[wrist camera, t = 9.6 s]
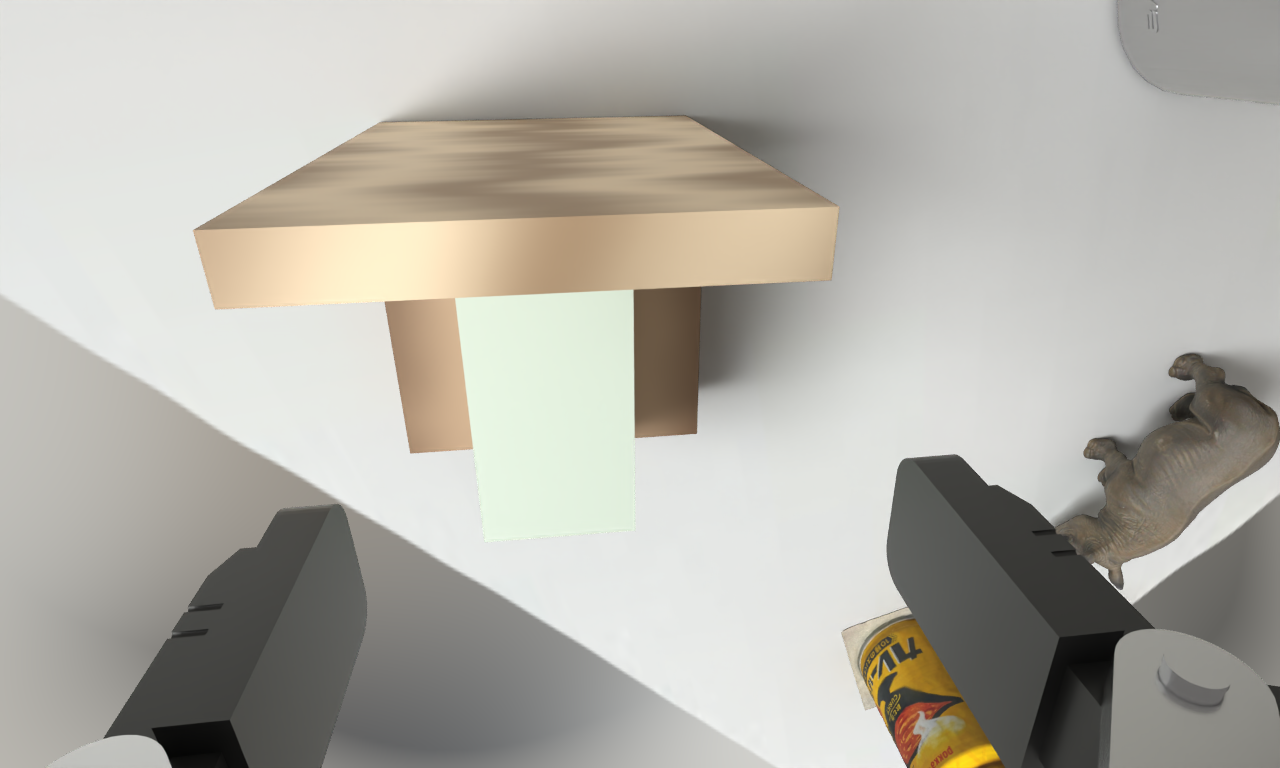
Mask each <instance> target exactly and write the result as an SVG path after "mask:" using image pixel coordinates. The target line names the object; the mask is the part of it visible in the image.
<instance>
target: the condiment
mask: <svg viewBox="0 0 1280 768" xmlns="http://www.w3.org/2000/svg"><path fill="white" fill-rule="evenodd" d="M841 633H842V637H843V640H844V643H845V647H846V650H847V653H848V657H849V660H850V663H851V667H852V670H853V673H854V676H855V679H856V683H857V686H858V689H859V693H860V695H861V698H862V702H863V705H864V708H865V710H868V709H871V708H874V707H876V706H877V708H878V710H879V712H880V714H881V716H882V718H883V720H884V722H885V724H886V727H887V728H888V731H889V733H890V734H891V736H892V738H893V741H894V742H895V744H896V746H897V748H898V750H899V752H900V754H901V756H902V759H903V761H904V763H905V765H906V766H907V768H1005V766H1004V765H1003V763H1002V761H1001V760H1000V758H999V756H998V755H997V753H996V751H995V750H994V748H993V746H992V745H991V743H990V741H989V740H988V738H987V736H986V735H985V733H984V732H983V730H982V728H981V727H980V725H979V723H978V722H977V720H976V718H975V717H974V715H973V713H972V712H971V710H970V708H969V707H968V705H967V703H966V702H965V700H964V699H963V697H962V695H961V694H960V692H959V690H958V689H957V687H956V685H955V684H954V682H953V680H952V679H951V677H950V675H949V674H948V672H947V670H946V669H945V667H944V665H943V664H942V662H941V661H940V659H939V657H938V656H937V654H936V652H935V651H934V649H933V647H932V646H931V644H930V642H929V641H928V639H927V637H926V636H925V634H924V632H923V631H922V629H921V628H920V626H919V624H918V623H917V621H916V619H915V618H914V616H913V614H912V613H911V611H910V609H909V608H908V607H907V608H904V609H901V610H898V611H895V612H893V613H890V614H887V615H884V616H881V617H879V618H875V619H872V620H869V621H867V622H865V623H863V624H858V625H856V626H853V627H851V628H848V629H846V630H844V631H843V632H841Z"/></svg>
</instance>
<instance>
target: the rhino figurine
mask: <svg viewBox="0 0 1280 768" xmlns="http://www.w3.org/2000/svg"><path fill="white" fill-rule="evenodd" d="M1169 376H1171V377H1176V378H1178V379H1180V380H1184V381H1187V380H1192V379H1194V380H1195V382H1196V393H1189V394H1187V395H1184V396H1183V397H1182V398H1180V399H1179V400H1178V401H1177V402H1176V403H1175V404H1174V405H1173V406H1172V407H1171V408H1170V410H1169V411H1170V413H1171V414H1172V419H1173V420H1175V421H1182V422H1176V423H1172V424H1168V425H1166V426H1163V427H1161V428H1159V429H1157V430H1155V431H1153V432H1152V433H1150V434H1149V435H1148V436H1147V437H1146V438H1145V439H1144V441H1143V442H1142V444H1141V446H1140V448H1139V450H1138V453H1137V455H1136V457H1134V458H1133V459H1132V460H1128V459H1127V457H1126V455H1125V454H1123V453H1121V452H1120V451H1118V450H1117V447H1116V443H1115V442H1114V441H1113V440H1109V439H1092V440H1090V441H1089V442H1088V445H1087V448H1086V449H1085V450H1084V456H1085V458H1088V459H1095V460H1102V461H1104V462H1105V464H1106V467H1105V468H1104V469H1103V470H1102V471H1101V472H1100V473H1099V475H1098V481H1099V482H1102V485H1103V486H1105V487H1104V490H1105V495H1106V506H1105V507H1104V508H1103V509H1101V510H1100V512H1099V514H1098V518H1094V517H1091V516H1088V515H1078V516H1076V517H1074V518H1072V519H1071V520H1069V521H1067V522H1065V523H1063V524H1061V525H1059V526H1057V527H1055V529H1056V533H1057V534H1061V535H1062V536H1063V537H1064V538H1065V539H1066V540H1067V541H1068V542H1069V543H1070V544H1071V545H1072V546H1073V547H1074V548H1075V549H1076V553H1077V555H1082V556H1083V557H1084V558H1085V559H1086V560H1087V561H1088V562H1089V563H1090V564H1093V563H1094V562H1096V563H1097V564H1099V565H1101V566H1103V567H1105V568H1107V569H1108V570H1109V573H1108V576H1109V579H1110V581H1111V583H1112V584H1114V585H1115V586H1116V588H1118V589H1119V590H1122V589H1123V585H1124V583H1123V575H1122V571H1121V566H1122V564H1123V563H1124V562H1128V561H1130V560H1131V559H1134V558H1138V557H1141V556H1144V555H1147V554H1149V553H1152V552H1154V551H1156V550H1159V549H1161V548H1163V547H1165V546H1166V545H1168V544H1170V543H1171V542H1173V541H1174V540H1175V539H1177V538H1178V537H1179V536H1180V535H1181V533H1182V532H1183V531H1184V530H1185V529H1186V528H1187V527H1188V525H1189V524H1190V523H1191V522H1192V521H1193V520H1194V519H1195V518H1196V516H1197V515H1198V514H1199V512H1200V511H1202V510H1203V509H1204V508H1205V507H1206V506H1207V505H1208V504H1210V503H1211V502H1212V501H1213V500H1214V499H1216V498H1217V497H1218V496H1219V495H1221V494H1222V493H1223V492H1224V491H1226V490H1227V489H1229V488H1230V487H1231V486H1233V485H1234V484H1236V483H1238V482H1239V481H1241V480H1243V479H1244V478H1246V477H1248V476H1249V475H1251V474H1253V473H1254V472H1256V471H1257V470H1259V469H1260V468H1262V467H1263V466H1264V465H1265V464H1266V463H1267V462H1268V461H1269V460H1270V459H1271V458H1272V457H1273V455H1274V454H1275V452H1276V450H1277V448H1278V445H1279V442H1280V426H1279V422H1278V417H1277V414H1276V413H1275V411H1274V410H1272V409H1271V408H1270V407H1269V406H1267V405H1265V404H1264V403H1262V402H1260V401H1259V400H1257V399H1256V398H1255V397H1253V396H1252V395H1251V394H1250V392H1249V391H1248V390H1247V389H1246V388H1245V387H1242V386H1235V385H1232V386H1231V385H1227V384H1225V382H1224V381H1225V372H1224V370H1223V369H1221V368H1218V367H1210V366H1207V365H1205V364H1204V363H1203V358H1202V357H1201V356H1199V355H1196V354H1189V355H1184V356H1181V357H1179V358H1177V359H1176V360H1175V362H1174V364H1173V366H1172V367H1171V368H1170V370H1169ZM1187 418H1191V419H1188V420H1185V419H1187ZM1183 420H1185V421H1183Z"/></svg>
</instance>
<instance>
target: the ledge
mask: <svg viewBox="0 0 1280 768" xmlns="http://www.w3.org/2000/svg"><path fill="white" fill-rule="evenodd" d="M633 297H634V420H635V438H641V437H656V436H670V435H685V434H697V411H698V377H699V342H700V308H701V286H699V287H678V288H657V289H636V290H633ZM385 307H386V313H387V319H388V325H389V330H390V336H391V342H392V348H393V354H394V360H395V366H396V372H397V378H398V383H399V389H400V395H401V401H402V407H403V413H404V419H405V425H406V430H407V436H408V442H409V448H410V453H424V452H438V451H453V450H467V449H473V443H472V435H471V427H470V419H469V410H468V402H467V394H466V385H465V377H464V369H463V360H462V352H461V344H460V335H459V327H458V319H457V310H456V302H455V298H446V299H425V300H404V301H385Z"/></svg>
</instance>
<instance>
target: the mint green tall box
mask: <svg viewBox="0 0 1280 768" xmlns="http://www.w3.org/2000/svg"><path fill="white" fill-rule="evenodd" d="M455 302H456V310H457V319H458V327H459V335H460V344H461V352H462V360H463V369H464V377H465V385H466V394H467V402H468V410H469V419H470V427H471V435H472V443H473V452H474V460H475V468H476V477H477V485H478V493H479V502H480V510H481V518H482V527H483V535H484V542H496V541H509V540H521V539H534V538H547V537H560V536H572V535H585V534H598V533H610V532H623V531H635V420H634V297H633V290H615V291H594V292H573V293H551V294H530V295H509V296H488V297H467V298H455Z"/></svg>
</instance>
